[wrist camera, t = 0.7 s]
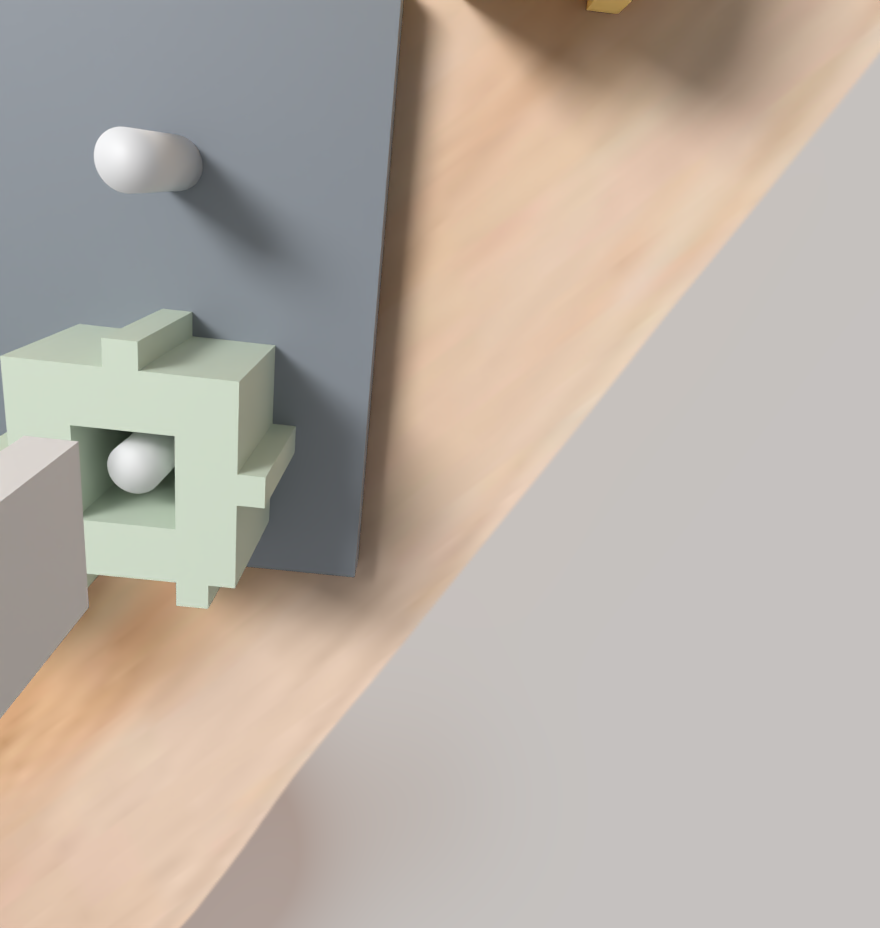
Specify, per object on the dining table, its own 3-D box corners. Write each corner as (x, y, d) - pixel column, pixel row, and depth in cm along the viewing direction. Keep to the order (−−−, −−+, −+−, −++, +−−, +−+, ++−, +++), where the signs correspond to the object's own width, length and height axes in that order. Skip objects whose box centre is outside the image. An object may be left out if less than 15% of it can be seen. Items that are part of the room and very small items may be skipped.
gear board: (-34, -68, 28) (-193, -149, 21) (404, -13, 29) (392, -74, 22) (19, 528, 36) (-83, 612, 29) (357, 562, 37) (337, 652, 30)
